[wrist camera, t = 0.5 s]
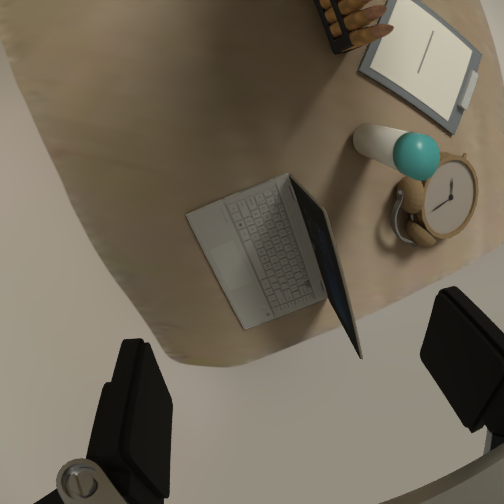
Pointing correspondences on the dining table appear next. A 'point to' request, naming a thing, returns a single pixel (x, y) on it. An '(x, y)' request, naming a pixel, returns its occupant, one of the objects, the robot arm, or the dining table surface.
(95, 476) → the robot arm
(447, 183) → the alarm clock
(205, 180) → the dining table surface
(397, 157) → the marker
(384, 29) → the ammunition clip
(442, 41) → the drawing board
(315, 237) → the laptop
